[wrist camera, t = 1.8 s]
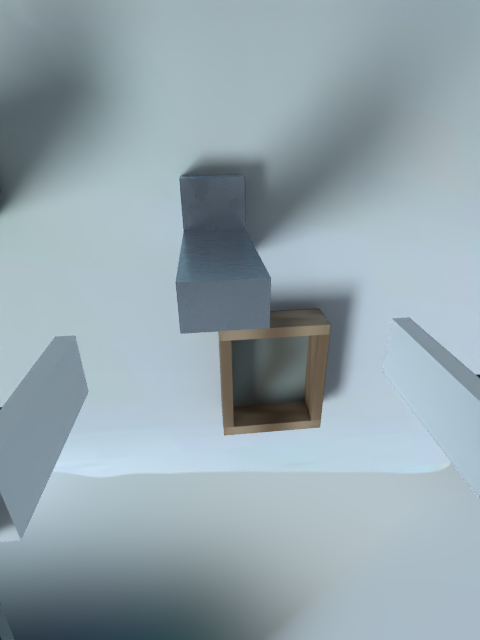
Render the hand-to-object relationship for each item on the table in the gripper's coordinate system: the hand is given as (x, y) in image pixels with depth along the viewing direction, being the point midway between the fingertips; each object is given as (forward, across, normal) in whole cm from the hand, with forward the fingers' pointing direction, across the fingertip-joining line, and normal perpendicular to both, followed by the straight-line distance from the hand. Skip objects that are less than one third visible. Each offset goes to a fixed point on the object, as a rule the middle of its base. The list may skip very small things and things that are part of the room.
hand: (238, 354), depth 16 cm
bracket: (+19, -1, +2) cm, 19 cm away
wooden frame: (+19, +4, -13) cm, 23 cm away
